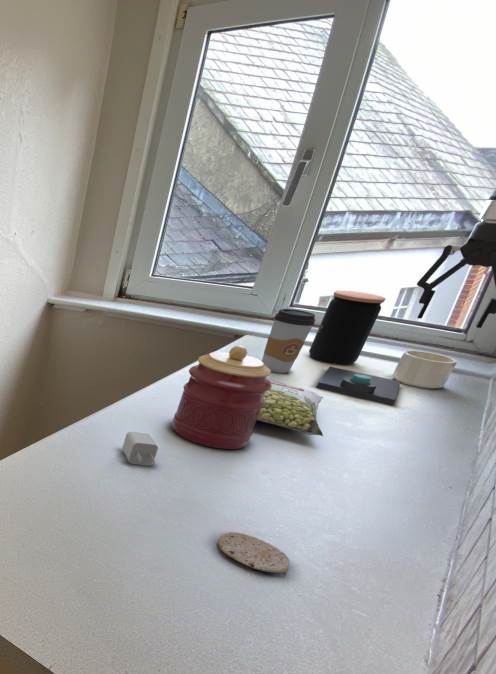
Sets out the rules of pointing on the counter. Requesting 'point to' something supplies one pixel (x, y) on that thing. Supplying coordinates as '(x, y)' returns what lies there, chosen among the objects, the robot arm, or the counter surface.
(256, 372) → the kitchen canister
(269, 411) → the frozen beans
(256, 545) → the flatbread
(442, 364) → the bowl
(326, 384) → the scale
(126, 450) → the usb wall charger
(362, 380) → the button
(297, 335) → the coffee cup
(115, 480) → the counter surface
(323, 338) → the coffee jar
